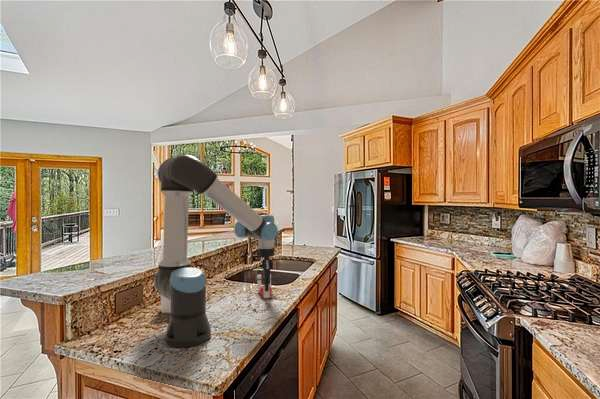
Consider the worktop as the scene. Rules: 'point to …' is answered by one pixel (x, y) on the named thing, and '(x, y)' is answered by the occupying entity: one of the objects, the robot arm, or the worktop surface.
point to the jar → (165, 305)
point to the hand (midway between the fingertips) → (266, 297)
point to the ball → (263, 291)
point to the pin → (258, 283)
